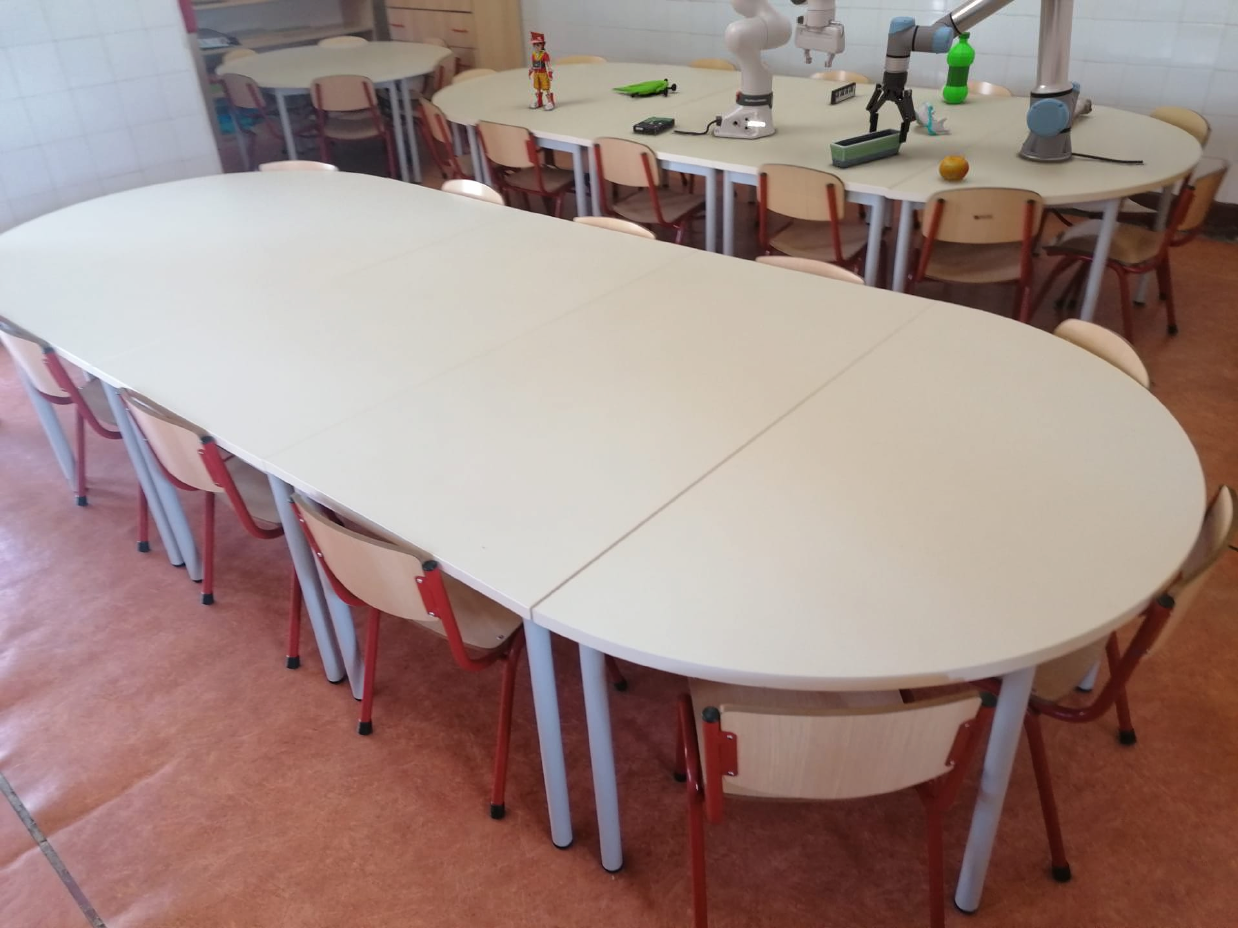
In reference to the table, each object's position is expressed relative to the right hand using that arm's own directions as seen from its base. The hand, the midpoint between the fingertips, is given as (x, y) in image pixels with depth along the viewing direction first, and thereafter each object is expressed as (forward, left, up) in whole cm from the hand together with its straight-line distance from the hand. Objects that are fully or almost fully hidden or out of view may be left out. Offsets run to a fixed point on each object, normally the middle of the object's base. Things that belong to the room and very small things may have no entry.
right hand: (887, 138), depth 301 cm
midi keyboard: (+17, -75, -5) cm, 77 cm away
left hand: (+25, -1, +23) cm, 34 cm away
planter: (+6, +7, -5) cm, 11 cm away
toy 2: (+105, -88, -5) cm, 137 cm away
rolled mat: (-61, -40, -5) cm, 73 cm away
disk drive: (+86, -27, -5) cm, 90 cm away
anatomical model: (-15, -30, -5) cm, 34 cm away
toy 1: (+142, -60, -5) cm, 154 cm away
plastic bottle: (-26, -72, -5) cm, 77 cm away
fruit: (-20, +27, -5) cm, 34 cm away
